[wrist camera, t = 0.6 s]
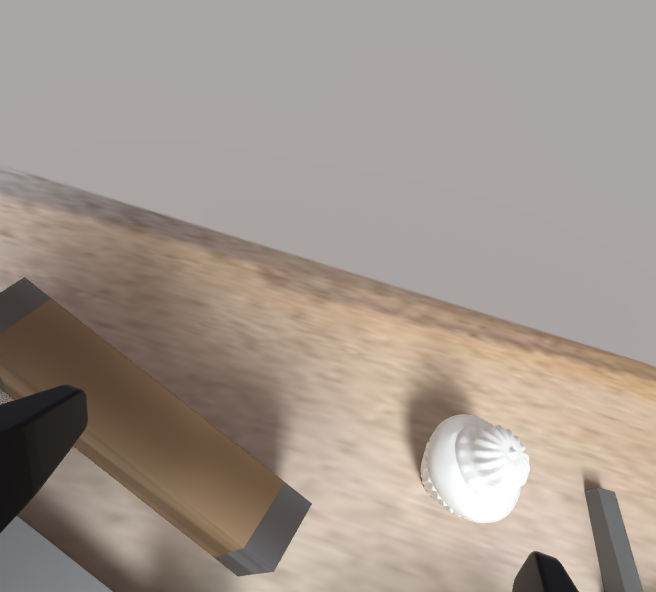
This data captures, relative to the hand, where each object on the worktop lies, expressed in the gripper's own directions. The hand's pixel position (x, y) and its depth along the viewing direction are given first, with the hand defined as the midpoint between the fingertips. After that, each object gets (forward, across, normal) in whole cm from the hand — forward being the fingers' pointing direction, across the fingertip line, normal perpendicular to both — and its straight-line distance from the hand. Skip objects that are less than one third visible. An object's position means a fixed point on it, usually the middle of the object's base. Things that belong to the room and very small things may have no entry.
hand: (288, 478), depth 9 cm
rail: (+9, +10, +12) cm, 18 cm away
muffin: (+17, -7, +16) cm, 24 cm away
